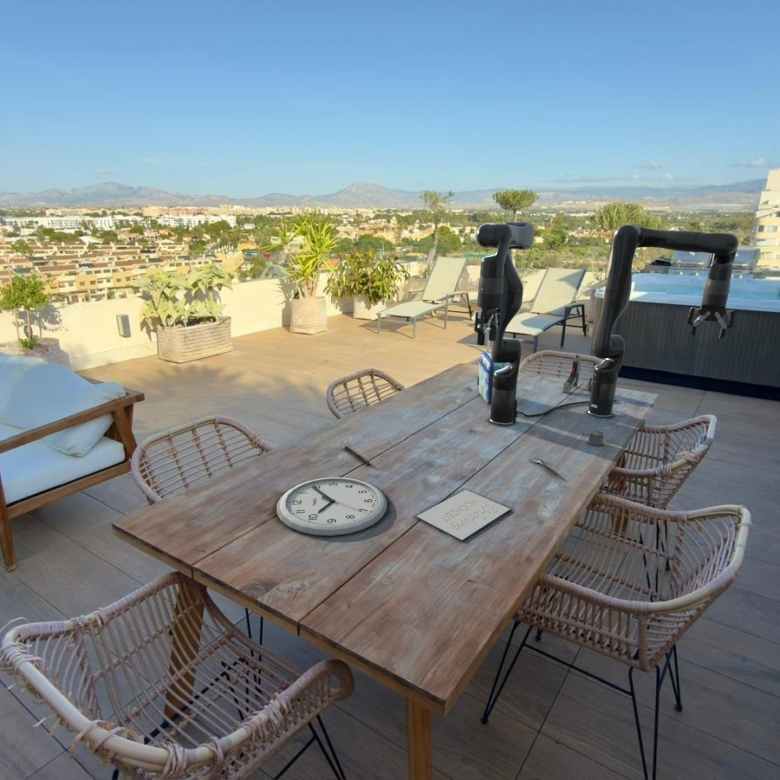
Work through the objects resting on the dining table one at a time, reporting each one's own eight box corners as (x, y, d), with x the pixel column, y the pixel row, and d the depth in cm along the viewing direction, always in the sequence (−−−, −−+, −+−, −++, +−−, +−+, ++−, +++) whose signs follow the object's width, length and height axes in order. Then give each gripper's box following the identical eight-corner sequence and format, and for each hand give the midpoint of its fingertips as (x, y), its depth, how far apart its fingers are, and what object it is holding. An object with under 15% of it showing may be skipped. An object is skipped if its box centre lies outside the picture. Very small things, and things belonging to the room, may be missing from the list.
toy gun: (565, 361, 240) (576, 353, 251) (562, 394, 245) (573, 384, 257) (571, 362, 238) (581, 354, 249) (567, 395, 244) (578, 385, 255)
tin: (601, 446, 185) (603, 436, 183) (587, 444, 187) (589, 433, 185) (602, 442, 189) (604, 431, 187) (589, 439, 191) (590, 429, 189)
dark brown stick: (344, 448, 179) (344, 445, 179) (346, 448, 179) (346, 445, 179) (367, 464, 167) (367, 462, 167) (368, 464, 167) (368, 461, 167)
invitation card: (465, 489, 152) (510, 508, 142) (465, 490, 152) (510, 509, 142) (416, 515, 137) (462, 539, 127) (416, 516, 138) (462, 540, 127)
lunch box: (475, 390, 246) (478, 346, 240) (498, 390, 246) (501, 347, 240) (484, 408, 221) (487, 360, 215) (509, 409, 221) (513, 360, 215)
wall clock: (392, 527, 129) (268, 531, 127) (391, 533, 130) (269, 537, 127) (383, 473, 158) (282, 475, 155) (383, 478, 158) (282, 480, 156)
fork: (554, 478, 160) (554, 472, 160) (527, 457, 175) (528, 451, 174) (561, 477, 161) (562, 471, 160) (534, 456, 175) (535, 450, 175)
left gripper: (492, 294, 154) (488, 348, 159) (510, 290, 165) (506, 340, 170) (469, 292, 158) (465, 345, 163) (488, 288, 169) (485, 337, 174)
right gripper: (737, 292, 185) (727, 337, 190) (691, 289, 190) (683, 333, 195) (741, 295, 178) (731, 341, 183) (694, 292, 183) (685, 337, 188)
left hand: (486, 342), depth 166 cm, fingers open, 8 cm apart
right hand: (706, 337), depth 189 cm, fingers open, 8 cm apart
